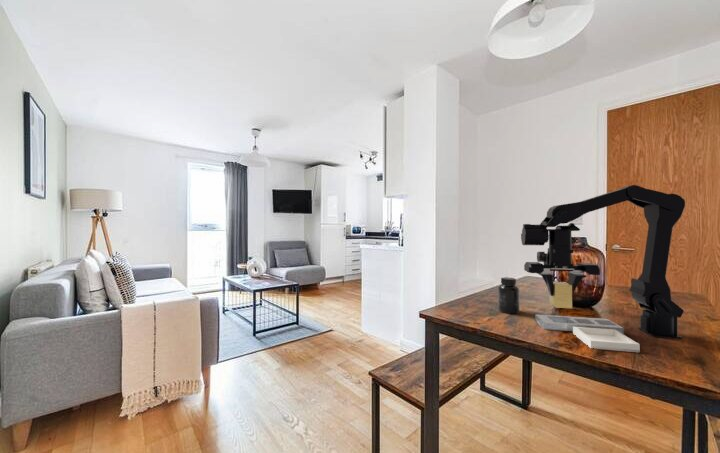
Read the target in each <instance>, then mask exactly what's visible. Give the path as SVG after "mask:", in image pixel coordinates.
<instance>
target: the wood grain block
mask: <svg viewBox="0 0 720 453" xmlns="http://www.w3.org/2000/svg"><path fill="white" fill-rule="evenodd" d="M548 293H549V292H548ZM549 304H550V305H551V306H553V308H557V309H558V308H559V309H561V308H562V309H573V294H572V285H571V284H569V283H568V282H565V281H553V296H551V295H550V293H549Z"/></svg>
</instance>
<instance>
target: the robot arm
mask: <svg viewBox="0 0 720 453" xmlns="http://www.w3.org/2000/svg"><path fill="white" fill-rule="evenodd" d="M623 202H629V203H631V204H633V205H635V206H636V207H639V208H642V209H643V214H644V215H643V216H644V218H645V220H646V223H647V225H648V228H647V235H646V241H645V249H644V250H645V251H644V257H643V264H642V265H643V266H642V271H641V274H640V275H639V277H638V278H633V277H632V278H631V279H630V284H631V285H630V288H629V289H628V292H629V293H630V292H631V293H630V294H631V297H632V299H634V301H636V302H637V304H638V306H639V307H640V308H641V309H642V313H641V315H640V327H638V329H639V330H640V331H642V332H644V333H646V334H647V335H650V336H652V337H655V338H663V339H665V338H666V339H678V340H679V339H681V340H683V337H682V336H681V335H679V334H678V318H682V316H683V314H684V309H682V307H681V306H679V305H677V303H675V302H674V301H673V300H672V291H671V288H670V285H669V283H668V280H667V278H666V276H667V269H668V262H669V256H670V248H671V241H672V234H673V229H674V226H675V225H676V224H677V223H678V221H679V220H680V219H681V217H682V216H683V212H684V210H685V207H686V201H685V199H684V198H683V197H682V196H681V195H679V194H677V193H665V192H662V191H657V190H654V189H649V188H645V187H642V186H640V185H637V184H632V185H626V186H622V187H621V188H619V189H616V190H612V191H609V192H606V193H603V194H600V195H596V196H594V197H590V198H586V199H584V200H581V201H578V202H570V203H563V204H558V205H553V206H551V207H549V208H548V210H547V212H546V216H545V217H544V219H543V220H542V221H541V223H540V224H530V223H524V224H523V225H522V229H521V233H520V239H521V240H520V241H521V244H522V246H544V245H545V244H546V243H548V248H547V253H546V252H545V251H537V252H536V261H526V262H525V263H524V266H523V267H524V268H523V269H524V272H525V271H526V272H527V273H529V274H538V275H539V276H541V278H543V281H544V283H545V285H546V287H547V290H548V293H550V295H551V296H553V282H554V275H553V273H551V271H552V272H566V273H567V278H568V281H567V283H569V284H571V285H572V295H573V294H574V291H575V290H576V289H577V287H578V285H579V284H580V282H581V281H582V280H583V279H584V278H587V275H589V276H591V275H594V276H601V267H600V266H599V265H597V264H594V263H591V262H577V263H576V264H575V265H574V263H573V260H572V259H573V258H572V257H573V256H572V255H573V254H574V249H573V246H572V232H580V230H581V228H579V227H578V226H577V225H576V224H575V223H573V222H574V221H575V220H576V219H579V218H581V217H582V216H584V215H586V214H588V213H590V212H594V211H598V210H600V209H604V208H607V207H610V206H614V205H616V204H620V203H623ZM572 221H573V222H572ZM568 223H569V224H568ZM561 224H563V225H561ZM564 224H567V225H564ZM585 273H586V274H587V275H586V274H585Z"/></svg>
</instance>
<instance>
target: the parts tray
mask: <svg viewBox="0 0 720 453" xmlns="http://www.w3.org/2000/svg"><path fill="white" fill-rule="evenodd" d="M572 334H573V335H574V336H575V335H576V336H575V337H577V338H578V339H579V340H580V341H581V342H583V343H584V344H585V345H586V346H587V345H588V346H587V347H588V348H590V349H593V348H594V349H595V350H605V351H617V352H618V351H619V352H631V353H639V354H640V352H641V351H640V350H641V349H640V347H641V346H640V343H639V342H636V341H635V340H634V339H631V338H630V337H628V336H627V335H625V334H624V335H623V334H622V333H620V332H618V331H617V330H615V329H600V328H586V327H573V331H572Z"/></svg>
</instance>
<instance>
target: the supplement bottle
mask: <svg viewBox="0 0 720 453" xmlns="http://www.w3.org/2000/svg"><path fill="white" fill-rule="evenodd" d="M497 292H498V294H497V299H498V300H497V304H498V306H497V307H498V311H500V312H501V313H505V314H519V312H520V288H519V287H518V286H517V278H514V277H509V276H508V277H504V276H503V277H501V280H500V285H499V286H498V288H497Z"/></svg>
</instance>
